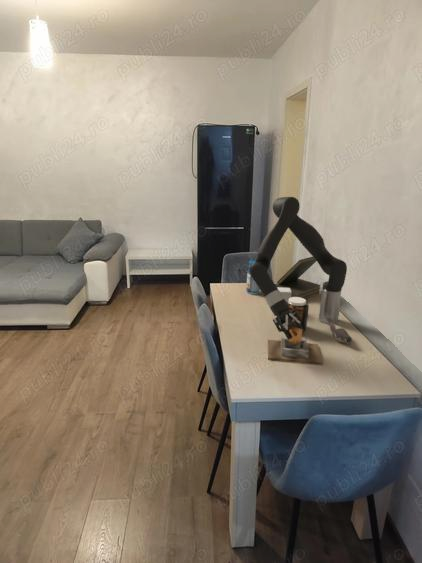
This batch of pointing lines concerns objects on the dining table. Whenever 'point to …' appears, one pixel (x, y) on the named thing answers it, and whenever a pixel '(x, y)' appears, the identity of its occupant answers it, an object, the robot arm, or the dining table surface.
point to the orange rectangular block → (295, 338)
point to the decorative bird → (339, 332)
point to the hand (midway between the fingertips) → (296, 335)
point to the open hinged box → (299, 280)
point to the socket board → (294, 352)
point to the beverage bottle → (251, 282)
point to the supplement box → (285, 293)
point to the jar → (299, 311)
